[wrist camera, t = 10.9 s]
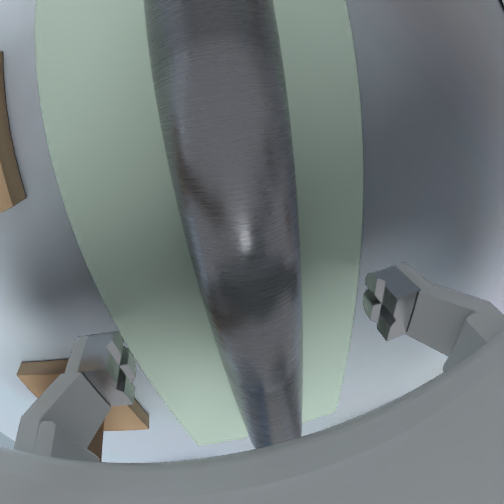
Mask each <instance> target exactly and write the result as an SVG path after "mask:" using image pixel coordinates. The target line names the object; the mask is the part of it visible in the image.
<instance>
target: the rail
mask: <svg viewBox="0 0 504 504" xmlns="http://www.w3.org/2000/svg"><path fill="white" fill-rule="evenodd" d="M143 2H144V13H145V23H146V32H147V41H148V49H149V57H150V64H151V71H152V78H153V84H154V91H155V97H156V103H157V109H158V114H159V120H160V125H161V131H162V136H163V141H164V146H165V151H166V156H167V161H168V166H169V171H170V175H171V180H172V184H173V189H174V193H175V197H176V202H177V206H178V210H179V214H180V218H181V223H182V227H183V231H184V234H185V238H186V242H187V246H188V250H189V254H190V257H191V261H192V265H193V268H194V272H195V276H196V279H197V283H198V286H199V290H200V293H201V297H202V300H203V303H204V307H205V310H206V313H207V317H208V320H209V323H210V326H211V330H212V333H213V336H214V339H215V342H216V345H217V348H218V351H219V354H220V357H221V360H222V363H223V366H224V369H225V372H226V375H227V378H228V381H229V384H230V387H231V389H232V392H233V395H234V398H235V400H236V403H237V406H238V409H239V411H240V414H241V417H242V419H243V422H244V425H245V427H246V430H247V432H248V435H249V437H250V440H251V442H252V444H253V446H254V447H255V448H256V449H258V448H262V447H266V446H270V445H274V444H278V443H282V442H286V441H289V440H293V439H296V438H299V437H301V434H302V404H303V308H302V275H301V251H300V232H299V216H298V201H297V187H296V175H295V163H294V152H293V142H292V132H291V123H290V113H289V105H288V96H287V88H286V81H285V73H284V66H283V59H282V52H281V45H280V39H279V33H278V26H277V20H276V15H275V9H274V3H273V0H143Z"/></svg>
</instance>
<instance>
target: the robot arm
mask: <svg viewBox="0 0 504 504" xmlns="http://www.w3.org/2000/svg"><path fill="white" fill-rule="evenodd" d="M502 2H503V4H504V0H502ZM365 285H366V286H367V287H368V289H367V290H366V292H365V293H364V296H363V306H364V310H365V312H366V314H367V316H368V317H369V319H370V320H372V321H374V322H377V329H378V330H379V332H380V333H381V334H382V336H383V337H384V338H385V340H386V341H389V340H391V339H394V338H396V337H399V336H401V335H403V334H406V333H407V335H409V336H410V337H412V338H414V339H416V340H418V341H420V342H422V343H424V344H426V345H428V346H429V347H431V348H433V349H435V350H437V351H439V352H441V353H443V354H445V355H446V356H448V358H447V360H446V362H445V364H444V365H443V371H444V372H443V373H442V374H440V375H439V376H437V377H435V378H434V379H432V380H430V381H428V382H427V383H425V384H423V385H422V386H420V387H418V388H416V389H414V390H412V391H411V392H409V393H407V394H405V395H403V396H401V397H399V398H397V399H395V400H393V401H391V402H389V403H387V404H385V405H383V406H381V407H378V408H376V409H374V410H372V411H370V412H367V413H365V414H363V415H360V416H358V417H356V418H353V419H351V420H348V421H346V422H343V423H340V424H338V425H335V426H332V427H330V428H327V429H324V430H321V431H318V432H315V433H312V434H309V435H306V436H303V437H299V438H296V439H293V440H289V441H286V442H282V443H278V444H274V445H270V446H266V447H262V448H258V449H253V450H249V451H244V452H239V453H233V454H228V455H222V456H215V457H209V458H201V459H193V460H183V461H171V462H155V463H107V462H100V459H99V458H98V456H96V455H95V454H94V453H92V452H91V451H89V450H88V449H87V447H88V446H89V444H90V442H91V441H92V439H93V437H94V436H95V434H96V432H97V431H98V429H99V427H100V426H101V424H102V422H103V421H104V419H105V417H106V416H107V414H108V412H109V411H110V409H111V406H122V405H131V404H134V391H135V387H134V386H133V385H132V383H131V382H132V381H133V379H134V378H135V377H136V366H135V360H134V358H133V355H132V353H131V351H130V350H129V349H128V348H126V347H124V346H123V342H124V339H123V338H122V336H121V335H120V333H119V332H116V331H115V332H108V333H100V334H92V335H86V336H78V337H77V338H76V339H75V341H74V344H73V347H72V350H71V354H70V357H69V360H68V363H67V366H66V370H65V373H64V374H60V375H59V376H58V377H57V378H56V379H55V380H54V382H53V383H52V384H51V385H50V386H49V387H48V388H47V389H46V390H45V391H44V392H43V393H42V395H41V396H40V397H39V398H38V399H37V400H36V401H35V402H34V403H33V404H32V406H31V407H30V408H29V409H28V410H27V411H26V412H25V413H24V415H23V416H22V417H21V420H20V424H19V428H18V432H17V437H16V441H15V446H14V449H11V448H7V447H4V446H0V504H504V315H503V314H502V313H501V312H500V311H499V310H498V309H497V308H496V307H495V306H494V305H493V304H492V303H491V302H489V301H486V300H483V299H480V298H477V297H473V296H470V295H467V294H464V293H461V292H458V291H455V290H452V289H448V288H445V287H442V286H439V285H434V286H433V285H432V284H430V283H429V282H428V281H427V280H426V279H425V278H424V277H422V276H421V275H420V274H419V273H418V272H417V271H416V270H414V269H413V268H412V267H411V266H410V265H408V264H407V263H405V262H402V263H399V264H396V265H393V266H391V267H388V268H384V269H381V270H378V271H375V272H371V273H368V274H367V276H366V280H365Z"/></svg>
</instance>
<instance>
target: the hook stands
mask: <svg viewBox="0 0 504 504" xmlns="http://www.w3.org/2000/svg"><path fill="white" fill-rule="evenodd" d="M25 198H26V195H25V192H24V188H23V185H22V181H21V178H20V174H19V170H18V166H17V162H16V158H15V154H14V149H13V144H12V139H11V134H10V129H9V123H8V116H7V109H6V100H5V91H4V77H3V52H1V51H0V213H1V212H3V211H5V210H7V209H9V208H11V207H13V206H15V205H16V204H18V203H19V202H20V201H22V200H23V199H25ZM68 360H69V359H65V360H53V361H39V362H22V363H21V365H20V368H19V370H18V373H17V376H18V378H19V379H20V380H21V381H22V382H23V383H24V384H25V385H26V387H27V388H28V389H29V390H30V391H31V392H32V393H33V394H34V395H35V396H36V397H37V398H39V397H40V396H41V395H42V393H43V392H44V391H45V390H46V389H47V388H48V387H49V386H50V385H51V384H52V383H53V382H54V380H55V379H56V378H57V377H58V376H59V375H60V374H64V373H65V370H66V366H67V363H68ZM143 429H149V415H148V414H147V413H146V412H145V410H144V409H143V408H142V407H141V406H140V404H139V403H138V402H137V401H136V400H135V398H134V404H131V405H122V406H111V409H110V411H109V412H108V414H107V416H106V417H105V419H104V421H103V422H102V424H101V426H100V427H99V429H98V431H97V432H96V434H95V436H94V437H93V439H92V441H91V442H90V444H89V446H88V447H87V449H88V450H89V451H91V452H92V453H94V454H95V455H96V456H98V458H99V459H100V462H101V458H102V442H103V431H123V430H143Z"/></svg>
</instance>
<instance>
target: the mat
mask: <svg viewBox="0 0 504 504" xmlns="http://www.w3.org/2000/svg"><path fill="white" fill-rule="evenodd" d="M273 3H274V9H275V15H276V20H277V26H278V33H279V39H280V45H281V52H282V59H283V66H284V73H285V81H286V88H287V96H288V105H289V113H290V123H291V132H292V142H293V152H294V163H295V175H296V187H297V201H298V216H299V232H300V251H301V275H302V308H303V404H302V423H304V422H307V421H310V420H314V419H317V418H319V417H322V416H325V415H328V414H331V413H334V412H336V409H337V404H338V400H339V396H340V391H341V387H342V382H343V377H344V372H345V367H346V362H347V356H348V350H349V344H350V338H351V332H352V325H353V318H354V311H355V303H356V295H357V286H358V276H359V266H360V253H361V239H362V219H363V137H362V118H361V104H360V92H359V82H358V73H357V65H356V57H355V50H354V44H353V37H352V31H351V26H350V20H349V15H348V10H347V5H346V1H345V0H273ZM35 57H36V72H37V82H38V91H39V99H40V106H41V112H42V118H43V124H44V129H45V135H46V139H47V144H48V149H49V153H50V157H51V161H52V165H53V169H54V173H55V176H56V180H57V184H58V187H59V190H60V194H61V197H62V200H63V203H64V206H65V209H66V212H67V215H68V218H69V221H70V224H71V227H72V229H73V232H74V235H75V237H76V240H77V243H78V245H79V248H80V250H81V253H82V255H83V257H84V260H85V262H86V265H87V267H88V269H89V271H90V274H91V276H92V278H93V280H94V283H95V285H96V287H97V289H98V291H99V293H100V295H101V297H102V299H103V301H104V303H105V305H106V307H107V309H108V311H109V313H110V315H111V317H112V319H113V321H114V323H115V324H116V326H117V328H118V330H119V332H120V334H121V335H122V337H123V339H124V341H125V342H126V344H127V346H128V347H129V349H130V351H131V353H132V354H133V356H134V358H135V359H136V361H137V362H138V364H139V366H140V367H141V369H142V370H143V372H144V373H145V375H146V377H147V378H148V380H149V381H150V383H151V384H152V386H153V387H154V389H155V390H156V391H157V393H158V394H159V396H160V397H161V399H162V400H163V401H164V403H165V404H166V406H167V407H168V408H169V410H170V411H171V412H172V414H173V415H174V416H175V418H176V419H177V420H178V422H179V423H180V424H181V425H182V427H183V428H184V429H185V431H186V432H187V433H188V434H189V435H190V437H191V438H192V439H193V440H194V442H195V443H196V444H197V445H198V446H202V445H209V444H216V443H221V442H227V441H232V440H238V439H243V438H247V437H249V435H248V432H247V430H246V427H245V425H244V422H243V419H242V417H241V414H240V411H239V409H238V406H237V403H236V400H235V398H234V395H233V392H232V389H231V387H230V384H229V381H228V378H227V375H226V372H225V369H224V366H223V363H222V360H221V357H220V354H219V351H218V348H217V345H216V342H215V339H214V336H213V333H212V330H211V326H210V323H209V320H208V317H207V313H206V310H205V307H204V303H203V300H202V297H201V293H200V290H199V286H198V283H197V279H196V276H195V272H194V268H193V265H192V261H191V257H190V254H189V250H188V246H187V242H186V238H185V234H184V231H183V227H182V223H181V218H180V214H179V210H178V206H177V202H176V197H175V193H174V189H173V184H172V180H171V175H170V171H169V166H168V161H167V156H166V151H165V146H164V141H163V136H162V131H161V125H160V120H159V114H158V109H157V103H156V97H155V91H154V84H153V78H152V71H151V64H150V57H149V49H148V41H147V32H146V23H145V13H144V2H143V0H36V8H35Z"/></svg>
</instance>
